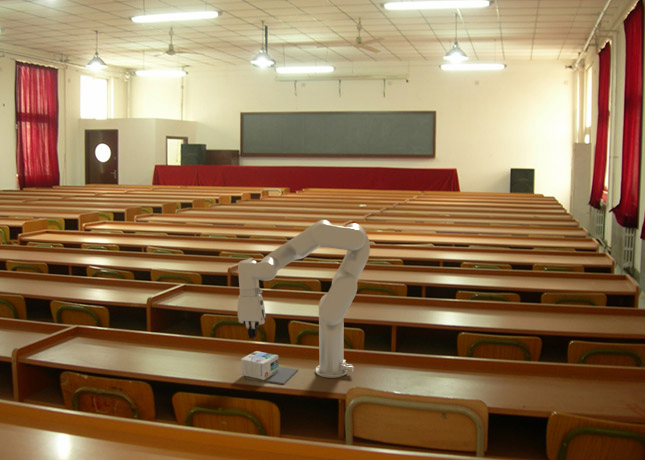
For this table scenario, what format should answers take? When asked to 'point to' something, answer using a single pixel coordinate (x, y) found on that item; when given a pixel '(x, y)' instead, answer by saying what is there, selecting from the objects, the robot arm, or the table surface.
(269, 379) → the mat
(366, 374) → the table surface
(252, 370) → the light bulb box
